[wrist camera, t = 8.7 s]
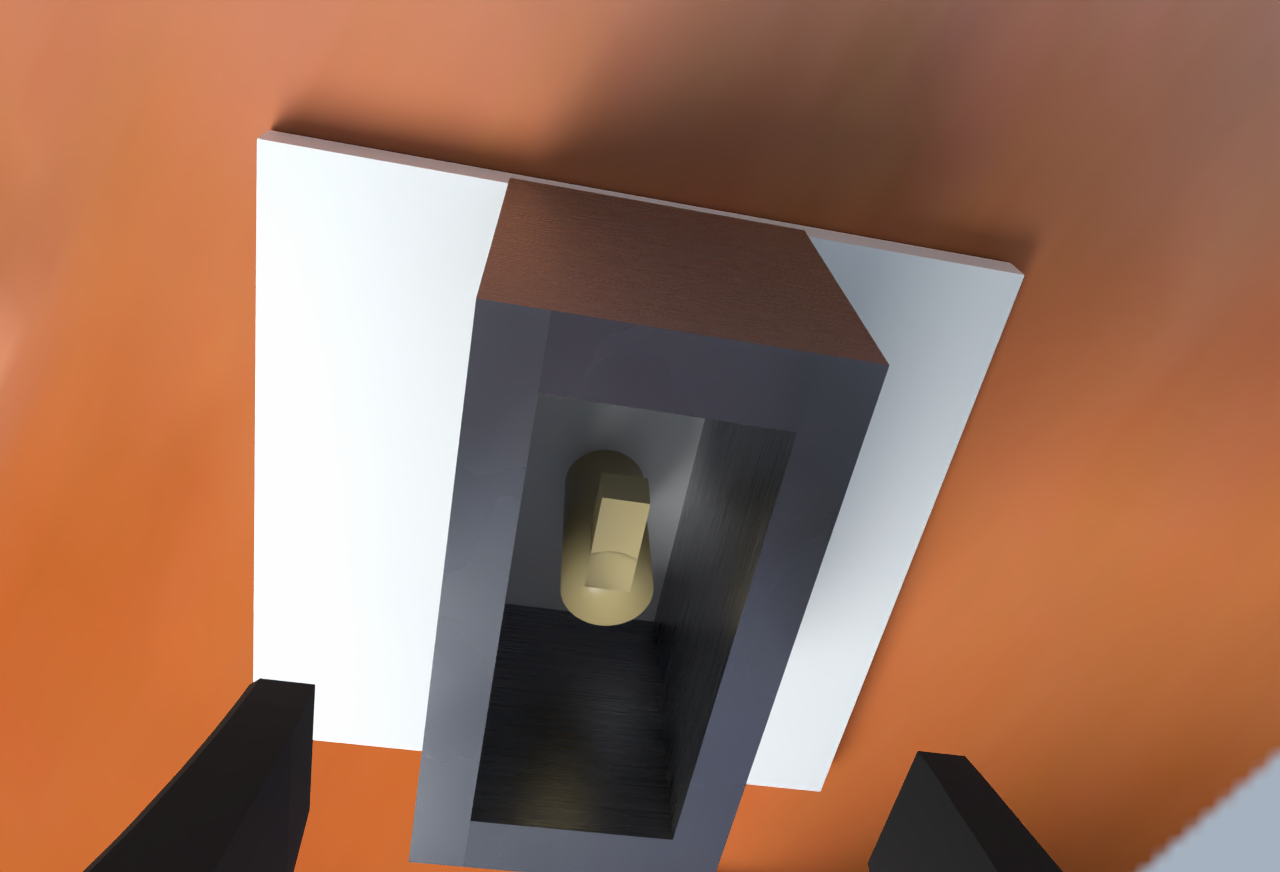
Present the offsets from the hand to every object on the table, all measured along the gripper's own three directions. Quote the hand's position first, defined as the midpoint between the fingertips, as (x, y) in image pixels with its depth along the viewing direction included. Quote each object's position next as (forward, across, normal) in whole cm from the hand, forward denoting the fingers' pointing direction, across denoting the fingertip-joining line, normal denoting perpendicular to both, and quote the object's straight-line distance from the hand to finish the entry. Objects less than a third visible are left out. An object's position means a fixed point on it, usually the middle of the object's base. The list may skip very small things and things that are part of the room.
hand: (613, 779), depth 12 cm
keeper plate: (+7, 0, +1) cm, 7 cm away
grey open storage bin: (+7, 0, -1) cm, 7 cm away
